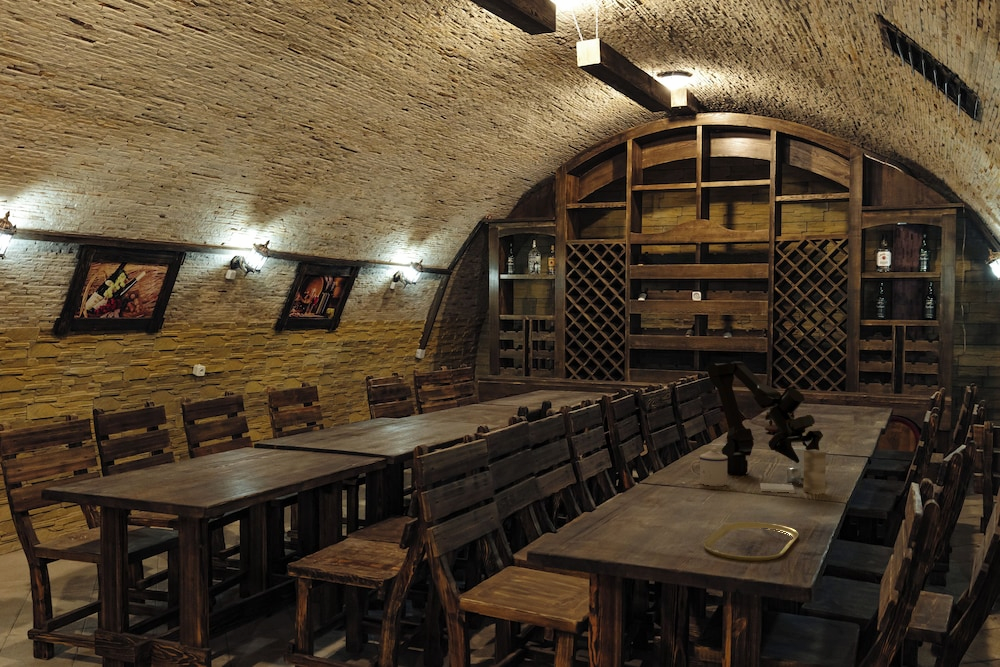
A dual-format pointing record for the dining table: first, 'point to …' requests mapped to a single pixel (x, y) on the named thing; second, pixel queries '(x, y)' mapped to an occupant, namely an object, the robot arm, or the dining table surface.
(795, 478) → the grey cylinder
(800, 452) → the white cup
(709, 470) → the teacup with lid
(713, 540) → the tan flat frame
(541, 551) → the dining table surface
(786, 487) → the tile
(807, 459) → the oak block
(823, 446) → the dining table surface
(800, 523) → the dining table surface
